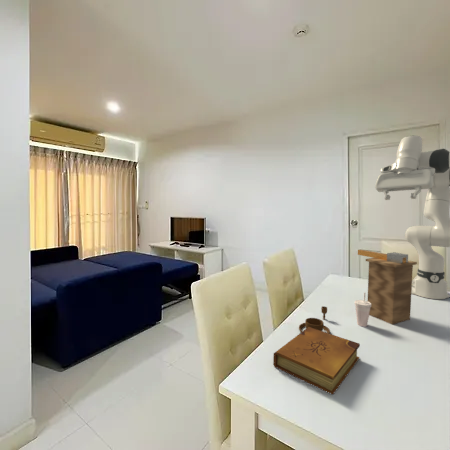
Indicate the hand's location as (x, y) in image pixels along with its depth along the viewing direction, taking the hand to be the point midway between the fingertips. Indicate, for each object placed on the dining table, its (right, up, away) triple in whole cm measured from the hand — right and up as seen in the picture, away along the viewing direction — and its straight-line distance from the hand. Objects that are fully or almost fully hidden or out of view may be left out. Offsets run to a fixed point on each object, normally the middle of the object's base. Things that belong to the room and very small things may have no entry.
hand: (399, 198), depth 109 cm
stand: (+2, -53, +12) cm, 54 cm away
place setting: (-33, -54, 0) cm, 63 cm away
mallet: (+1, -26, +13) cm, 30 cm away
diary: (-42, -56, -23) cm, 74 cm away
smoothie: (-14, -53, +4) cm, 55 cm away
